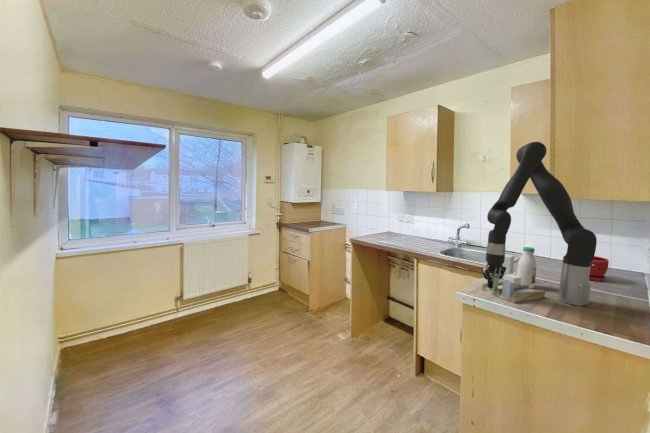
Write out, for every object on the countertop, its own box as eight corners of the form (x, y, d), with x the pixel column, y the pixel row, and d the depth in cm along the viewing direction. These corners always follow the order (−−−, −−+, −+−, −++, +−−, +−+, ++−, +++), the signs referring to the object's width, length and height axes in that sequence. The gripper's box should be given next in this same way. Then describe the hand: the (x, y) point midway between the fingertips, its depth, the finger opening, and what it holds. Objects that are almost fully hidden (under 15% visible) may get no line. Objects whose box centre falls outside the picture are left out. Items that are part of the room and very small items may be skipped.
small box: (512, 278, 156) (515, 255, 154) (508, 280, 152) (510, 257, 150) (496, 274, 162) (498, 252, 160) (492, 276, 158) (494, 254, 156)
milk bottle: (526, 289, 139) (530, 250, 137) (512, 284, 147) (516, 246, 144) (538, 288, 141) (542, 249, 139) (523, 282, 149) (527, 245, 146)
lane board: (544, 297, 130) (545, 291, 130) (513, 303, 123) (514, 296, 123) (511, 285, 145) (511, 279, 144) (482, 289, 138) (482, 283, 138)
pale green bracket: (523, 288, 138) (524, 274, 137) (494, 292, 131) (496, 278, 131) (513, 284, 143) (514, 271, 142) (485, 289, 136) (486, 275, 135)
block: (520, 287, 137) (521, 277, 137) (513, 288, 135) (514, 278, 135) (510, 283, 142) (511, 274, 141) (503, 284, 140) (504, 274, 140)
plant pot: (595, 275, 163) (598, 255, 161) (612, 283, 150) (615, 261, 148) (569, 273, 166) (571, 253, 164) (583, 281, 153) (585, 259, 152)
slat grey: (539, 293, 131) (541, 279, 131) (510, 298, 125) (512, 284, 124) (528, 289, 136) (530, 276, 135) (500, 294, 129) (501, 280, 129)
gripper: (491, 255, 126) (488, 292, 128) (513, 253, 131) (510, 288, 133) (477, 251, 133) (474, 286, 135) (499, 249, 138) (495, 283, 140)
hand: (492, 287), depth 134 cm, fingers closed on pale green bracket, 2 cm apart
